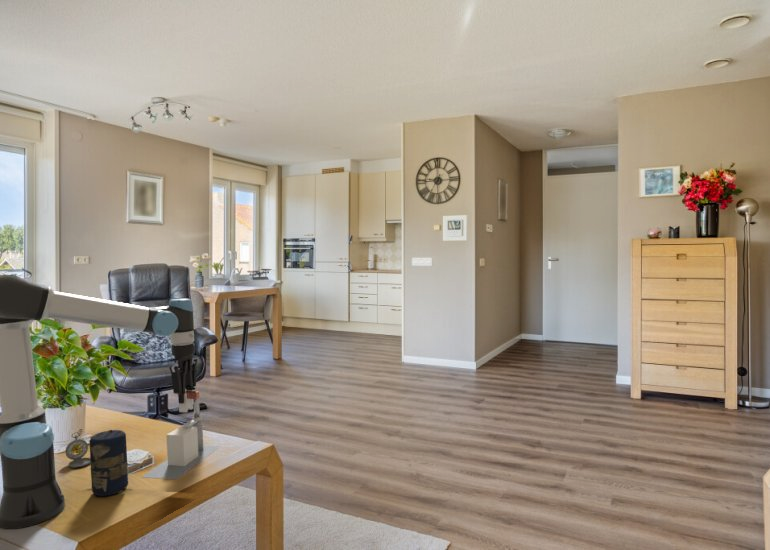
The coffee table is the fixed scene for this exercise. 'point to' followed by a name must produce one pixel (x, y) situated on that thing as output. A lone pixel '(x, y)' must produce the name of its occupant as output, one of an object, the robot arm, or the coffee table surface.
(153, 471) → the gray post stand
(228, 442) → the coffee table surface
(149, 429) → the coffee table surface
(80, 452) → the pocket watch
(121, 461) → the canister
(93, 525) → the coffee table surface
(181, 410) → the robot arm
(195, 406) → the multicoloured piece
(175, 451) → the white block
